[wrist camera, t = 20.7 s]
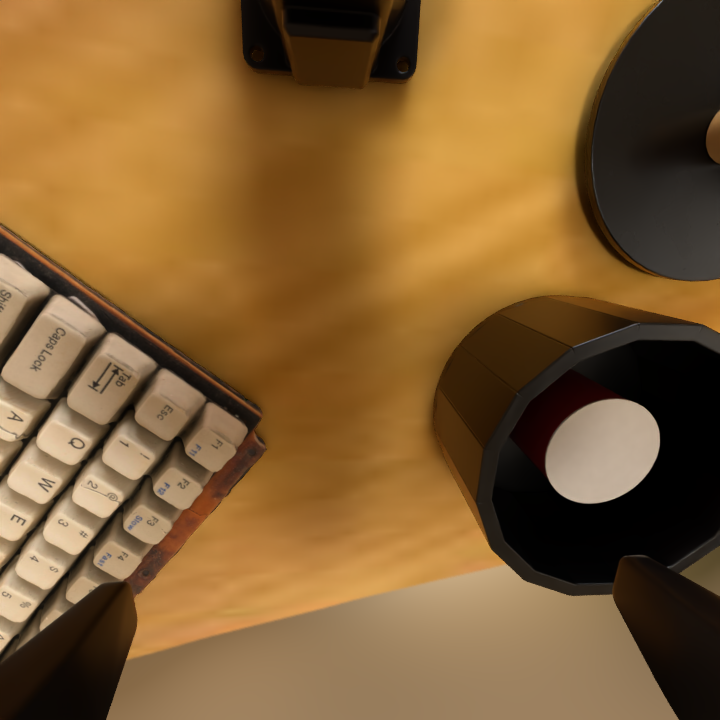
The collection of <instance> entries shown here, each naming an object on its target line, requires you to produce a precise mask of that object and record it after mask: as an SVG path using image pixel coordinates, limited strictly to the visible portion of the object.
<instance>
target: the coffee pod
mask: <svg viewBox="0 0 720 720" xmlns="http://www.w3.org/2000/svg"><path fill="white" fill-rule="evenodd" d="M509 437H510V438H511V439H512V440H513V442H514V443H515V444H516V445H517V446H518V447H519V448H520V449H521V450H522V452H523V453H524V454H525V455H526V456H527V457H528V458H529V459H530V460H531V462H532V463H533V464H534V465H535V466H536V467H537V468H538V469H539V470H540V472H541V473H542V474H543V475H544V476H545V477H546V478H547V479H548V480H549V482H550V484H551V485H552V486H553V488H554V489H555V490H556V491H557V492H558V493H559V494H561V495H562V496H564V497H565V498H567V499H569V500H572V501H575V502H579V503H588V504H592V503H601V502H606V501H609V500H612V499H615V498H617V497H620V496H621V495H623V494H625V493H627V492H628V491H630V490H631V489H633V488H634V487H635V486H636V485H638V484H639V483H640V482H641V481H642V480H643V479H644V477H645V476H646V475H647V474H648V472H649V471H650V469H651V468H652V466H653V464H654V462H655V460H656V458H657V455H658V451H659V447H660V433H659V428H658V425H657V423H656V421H655V419H654V417H653V416H652V415H651V413H650V412H649V411H648V410H647V409H645V408H644V407H643V406H641V405H639V404H637V403H635V402H633V401H630V400H627V399H625V398H624V397H622V396H620V395H618V394H616V393H614V392H613V391H611V390H609V389H607V388H605V387H603V386H602V385H600V384H598V383H596V382H594V381H592V380H591V379H589V378H587V377H585V376H583V375H581V374H580V373H578V372H576V371H574V370H572V369H569V370H568V371H567V372H566V373H564V374H563V375H562V376H561V377H559V378H558V379H557V380H556V381H555V382H553V383H552V384H551V385H550V386H548V387H547V388H546V389H545V390H544V391H542V392H541V393H540V394H539V395H537V396H536V397H535V398H534V399H533V400H531V401H530V402H529V404H528V405H527V407H526V409H525V410H524V412H523V414H522V415H521V417H520V418H519V420H518V422H517V423H516V425H515V427H514V428H513V430H512V432H511V433H510V435H509Z"/></svg>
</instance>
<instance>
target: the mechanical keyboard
mask: <svg viewBox="0 0 720 720" xmlns="http://www.w3.org/2000/svg"><path fill="white" fill-rule="evenodd" d="M262 417H263V414H262V411H261V409H260V408H259V407H258V406H257V405H256V404H254V403H252V402H250V401H249V400H248V399H245V398H244V396H243V395H241V394H240V393H238V392H237V391H235V390H234V389H233V388H231V387H230V386H229V385H227V384H226V383H224V382H223V381H222V380H220V379H219V378H217V377H216V376H214V375H213V374H211V373H210V372H209V371H207V370H206V369H204V368H203V367H201V366H200V365H199V364H197V363H195V362H194V361H193V360H191V359H190V358H188V357H187V356H186V355H184V354H183V353H182V352H180V351H179V350H177V349H175V348H174V347H173V346H171V345H169V344H168V343H167V342H165V341H164V340H163V339H161V338H160V337H159V336H157V335H155V334H154V333H153V332H151V331H150V330H148V329H147V328H146V327H144V326H143V325H141V324H139V323H138V322H137V321H135V320H134V319H132V318H131V317H130V316H128V315H127V314H126V313H125V312H123V311H122V310H120V309H119V308H118V307H116V306H115V305H114V304H112V303H111V302H109V301H108V300H106V299H105V298H103V297H102V296H101V295H100V294H98V293H97V292H95V291H94V290H92V289H90V288H89V287H87V286H86V285H84V284H83V283H82V282H81V281H80V280H78V279H77V278H75V277H74V276H72V275H71V274H69V273H68V272H67V271H66V270H64V269H63V268H61V267H60V266H58V265H57V264H56V263H54V262H53V261H51V260H50V259H48V258H47V257H46V256H44V255H43V254H41V253H40V252H38V251H37V250H35V249H34V248H33V247H32V246H30V245H29V244H27V243H26V242H24V241H23V240H21V239H20V238H18V237H17V236H16V235H15V234H13V233H12V232H11V231H9V230H8V229H6V228H5V227H3V226H2V225H0V663H1V662H2V661H4V660H5V659H6V658H7V657H9V656H10V655H11V654H12V653H14V652H15V651H16V650H17V649H19V648H20V647H21V646H23V645H24V644H25V643H26V642H28V641H29V640H30V639H31V638H33V637H34V636H35V635H36V634H38V633H39V632H40V631H42V630H43V629H44V628H45V627H47V626H48V625H49V624H50V623H52V622H53V621H54V620H56V619H57V618H58V617H59V616H61V615H62V614H63V613H64V612H66V611H67V610H68V609H69V608H71V607H72V606H73V605H75V604H76V603H77V602H78V601H80V600H81V599H82V598H83V597H85V596H86V595H87V594H88V593H90V592H91V591H92V590H94V589H95V588H96V587H97V586H99V585H100V584H102V583H105V582H117V581H126V582H128V583H129V584H130V585H131V588H132V593H133V598H134V597H135V596H136V595H137V594H139V593H141V592H142V590H143V589H144V588H145V587H146V586H147V585H148V584H149V583H150V582H151V580H153V579H154V578H155V577H156V575H157V573H158V572H159V571H160V570H161V569H162V567H164V565H165V564H166V563H167V562H168V561H169V560H170V559H171V558H172V557H173V556H174V555H175V554H176V553H177V552H178V551H179V550H180V549H181V547H182V546H183V545H184V543H185V542H186V540H187V539H188V538H189V537H190V536H191V535H192V533H193V532H194V531H195V530H196V529H197V528H198V527H199V526H200V524H201V523H202V522H203V521H204V520H205V519H206V518H207V517H208V515H209V514H211V513H212V512H213V511H214V510H215V509H216V508H217V507H218V505H219V504H220V503H221V501H222V499H223V498H224V497H226V496H227V495H228V494H229V493H230V491H231V489H232V488H233V487H234V486H235V485H236V484H237V483H238V482H239V481H240V480H241V479H242V478H243V477H244V475H245V474H246V473H247V472H248V471H249V469H250V468H251V467H252V466H253V464H254V463H255V462H257V461H258V459H259V458H261V456H262V455H263V453H264V452H265V451H266V450H267V449H266V446H265V443H264V441H263V440H262V439H261V438H260V437H258V436H257V435H256V434H255V432H254V430H255V428H256V427H257V425H258V423H259V422H260V421H261V419H262Z"/></svg>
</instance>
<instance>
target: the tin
mask: <svg viewBox="0 0 720 720" xmlns="http://www.w3.org/2000/svg"><path fill="white" fill-rule="evenodd" d="M569 369H572V370H574V371H576V372H578V373H580V374H581V375H583V376H585V377H587V378H589V379H591V380H592V381H594V382H596V383H598V384H600V385H602V386H603V387H605V388H607V389H609V390H611V391H613V392H614V393H616V394H618V395H620V396H622V397H624V398H625V399H627V400H630V401H633V402H635V403H637V404H639V405H641V406H643V407H644V408H645V409H647V410H648V411H649V412H650V413H651V415H652V416H653V417H654V419H655V421H656V423H657V425H658V428H659V433H660V447H659V451H658V455H657V458H656V460H655V462H654V464H653V466H652V468H651V469H650V471H649V472H648V474H647V475H646V476H645V477H644V479H643V480H642V481H641V482H640V483H639V484H638V485H636V486H635V487H634V488H633V489H631V490H630V491H628V492H627V493H625V494H623V495H621V496H620V497H617V498H615V499H612V500H609V501H606V502H601V503H592V504H588V503H579V502H575V501H572V500H569V499H567V498H565V497H564V496H562V495H561V494H559V493H558V492H557V491H556V490H555V489H554V488H553V486H552V485H551V484H550V482H549V480H548V479H547V478H546V477H545V476H544V475H543V474H542V473H541V472H540V470H539V469H538V468H537V467H536V466H535V465H534V464H533V463H532V462H531V460H530V459H529V458H528V457H527V456H526V455H525V454H524V453H523V452H522V450H521V449H520V448H519V447H518V446H517V445H516V444H515V443H514V442H513V440H512V439H511V438H510V437H509V435H510V433H511V432H512V430H513V428H514V427H515V425H516V423H517V422H518V420H519V418H520V417H521V415H522V414H523V412H524V410H525V409H526V407H527V405H528V404H529V402H530V401H531V400H533V399H534V398H535V397H536V396H537V395H539V394H540V393H541V392H542V391H544V390H545V389H546V388H547V387H548V386H550V385H551V384H552V383H553V382H555V381H556V380H557V379H558V378H559V377H561V376H562V375H563V374H564V373H566V372H567V371H568V370H569ZM433 417H434V426H435V432H436V435H437V439H438V442H439V445H440V447H441V449H442V451H443V454H444V457H445V460H446V463H447V465H448V467H449V469H450V471H451V473H452V474H453V476H454V478H455V480H456V482H457V484H458V486H459V488H460V490H461V492H462V494H463V496H464V498H465V500H466V502H467V503H468V505H469V507H470V509H471V511H472V513H473V515H474V517H475V519H476V521H477V523H478V525H479V527H480V529H481V530H482V532H483V534H484V536H485V538H486V540H487V542H488V544H489V546H490V547H491V549H492V550H493V551H494V552H495V553H496V554H497V555H498V556H499V557H500V558H501V559H502V560H503V561H504V562H505V563H506V564H507V565H508V566H510V567H511V568H512V569H513V570H514V571H515V572H516V573H517V574H518V575H519V576H520V577H521V578H522V579H523V580H525V581H527V582H530V583H533V584H536V585H539V586H542V587H545V588H548V589H551V590H554V591H557V592H560V593H563V594H566V595H571V596H580V595H581V596H582V595H609V594H613V591H612V589H613V584H614V580H615V576H616V572H617V568H618V565H619V561H620V559H621V558H622V557H624V556H633V555H644V556H648V557H650V558H651V559H653V560H655V561H657V562H659V563H660V564H662V565H664V566H666V567H668V568H669V569H671V570H673V571H675V572H677V573H678V574H679V573H680V572H682V571H683V570H685V569H686V568H688V567H689V566H690V565H692V564H694V563H695V562H696V561H698V560H699V559H701V558H702V557H704V556H705V555H707V554H708V553H710V552H711V551H712V550H714V549H715V548H717V547H718V546H720V333H718V332H716V331H714V330H712V329H711V328H709V327H707V326H705V325H703V324H698V323H694V322H690V321H686V320H681V319H677V318H673V317H669V316H664V315H660V314H656V313H652V312H647V311H643V310H639V309H635V308H630V307H626V306H622V305H618V304H613V303H609V302H605V301H600V300H596V299H592V298H587V297H572V296H562V295H557V296H542V297H536V298H531V299H527V300H524V301H521V302H518V303H515V304H512V305H510V306H508V307H506V308H503V309H501V310H500V311H498V312H496V313H495V314H493V315H491V316H490V317H488V318H487V319H485V320H484V321H483V322H481V323H480V324H479V325H477V326H476V327H475V328H474V329H473V330H472V331H471V332H470V333H469V334H468V335H467V336H466V337H465V338H464V339H463V340H462V341H461V343H460V344H459V345H458V346H457V348H456V349H455V350H454V352H453V353H452V355H451V357H450V358H449V360H448V361H447V363H446V365H445V367H444V370H443V372H442V374H441V376H440V379H439V382H438V386H437V389H436V394H435V400H434V416H433Z"/></svg>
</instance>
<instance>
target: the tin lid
mask: <svg viewBox="0 0 720 720" xmlns="http://www.w3.org/2000/svg"><path fill="white" fill-rule="evenodd" d="M585 177H586V186H587V192H588V196H589V200H590V204H591V208H592V210H593V213H594V215H595V218H596V221H597V223H598V225H599V227H600V228H601V230H602V232H603V234H604V235H605V237H606V238H607V240H608V241H609V242H610V244H611V245H612V246H613V247H614V249H615V250H616V251H617V252H618V253H619V254H621V255H622V256H623V257H624V258H625V259H626V260H627V261H629V262H630V263H632V264H633V265H635V266H636V267H638V268H639V269H641V270H643V271H646V272H648V273H650V274H653V275H656V276H659V277H663V278H667V279H673V280H683V281H708V280H714V279H720V0H660V1H658V2H657V3H656V4H655V5H654V6H653V7H652V8H651V9H650V10H649V11H648V12H647V13H646V14H645V15H644V16H643V18H642V19H641V20H640V21H639V22H638V23H637V24H636V26H635V27H634V28H633V30H632V31H631V32H630V34H629V35H628V36H627V37H626V39H625V40H624V41H623V43H622V45H621V46H620V48H619V50H618V51H617V53H616V55H615V56H614V58H613V60H612V61H611V63H610V65H609V67H608V69H607V71H606V74H605V76H604V78H603V80H602V82H601V84H600V87H599V90H598V93H597V96H596V98H595V101H594V104H593V107H592V111H591V116H590V120H589V124H588V129H587V137H586V145H585Z"/></svg>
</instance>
